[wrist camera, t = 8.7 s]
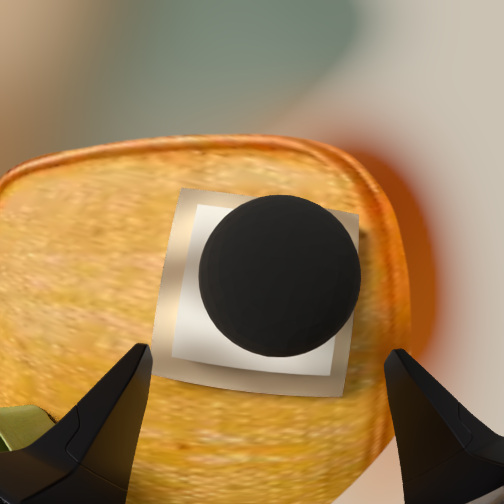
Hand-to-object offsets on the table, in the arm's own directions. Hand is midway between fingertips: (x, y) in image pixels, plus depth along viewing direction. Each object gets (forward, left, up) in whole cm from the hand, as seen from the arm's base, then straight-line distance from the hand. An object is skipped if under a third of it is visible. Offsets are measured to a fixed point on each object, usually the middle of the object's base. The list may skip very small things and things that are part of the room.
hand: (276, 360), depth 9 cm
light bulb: (+3, 0, -8) cm, 8 cm away
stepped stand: (+3, 0, -11) cm, 12 cm away
